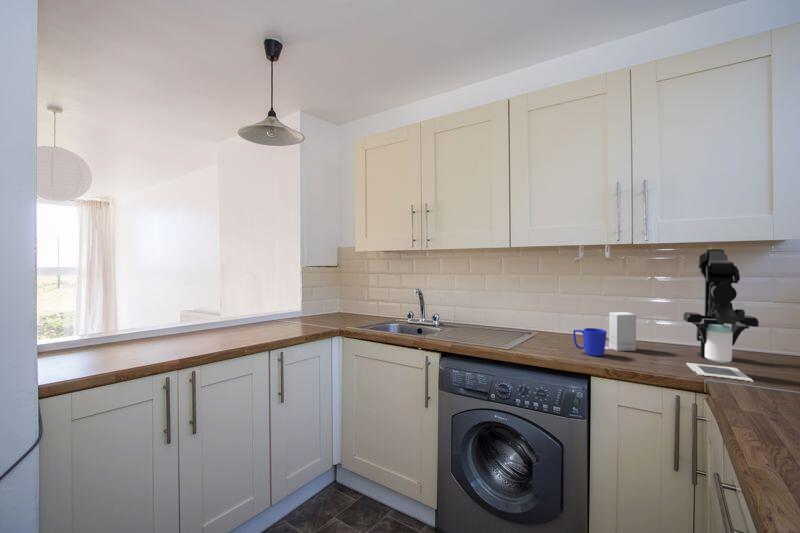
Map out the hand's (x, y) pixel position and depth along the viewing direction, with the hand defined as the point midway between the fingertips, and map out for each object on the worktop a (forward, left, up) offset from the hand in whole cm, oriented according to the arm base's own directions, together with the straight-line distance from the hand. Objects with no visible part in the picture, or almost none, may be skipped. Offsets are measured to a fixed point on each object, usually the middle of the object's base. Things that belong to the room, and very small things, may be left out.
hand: (718, 344), depth 125 cm
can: (0, 0, -6) cm, 6 cm away
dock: (0, 0, -10) cm, 10 cm away
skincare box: (-21, -26, -10) cm, 35 cm away
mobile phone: (-27, -30, -11) cm, 41 cm away
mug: (-7, -39, -10) cm, 41 cm away
